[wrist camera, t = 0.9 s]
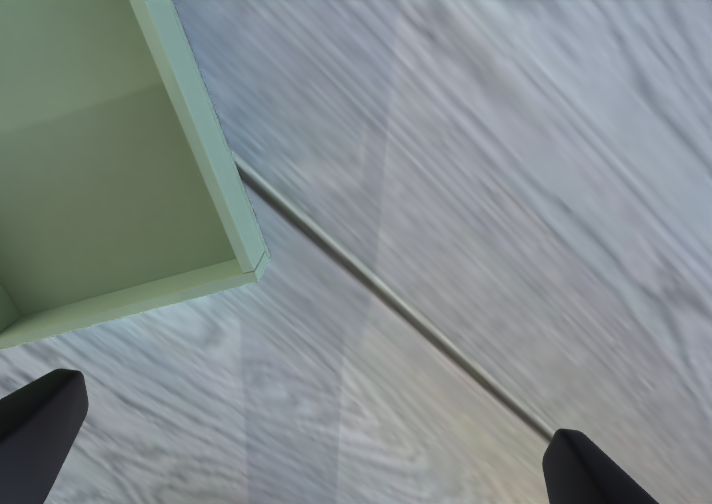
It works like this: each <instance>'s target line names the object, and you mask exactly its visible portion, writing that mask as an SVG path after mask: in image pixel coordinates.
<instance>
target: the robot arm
mask: <svg viewBox="0 0 712 504" xmlns="http://www.w3.org/2000/svg"><path fill="white" fill-rule="evenodd" d="M88 405H89V403H88V396H87V391H86V385H85V380H84V376H83V374H82V373H81V372H80V371H77V370H69V369H56V370H53V371H51V372H50V373H48V374H46V375H44V376H42V377H40V378H39V379H37V380H35V381H33V382H31V383H30V384H28V385H26V386H24V387H22V388H21V389H19V390H17V391H15V392H13V393H11V394H10V395H8V396H6V397H4V398H2V399H1V400H0V504H43V503H44V501H45V499H46V498H47V496H48V494H49V492H50V490H51V488H52V486H53V484H54V482H55V480H56V478H57V475H58V473H59V471H60V469H61V467H62V465H63V463H64V461H65V459H66V457H67V455H68V453H69V450H70V448H71V446H72V444H73V442H74V440H75V438H76V436H77V434H78V432H79V430H80V427H81V425H82V423H83V421H84V419H85V417H86V415H87V411H88ZM542 465H543V472H544V477H545V482H546V487H547V493H548V498H549V503H550V504H659V503H658V502H657V501H656V500H654V499H653V498H652V497H651V496H650V495H649V494H648V493H647V492H646V491H645V490H644V489H643V488H642V487H641V486H639V485H638V484H637V483H636V482H635V481H634V480H633V479H632V478H631V477H630V476H629V475H628V474H627V473H626V472H624V471H623V470H622V469H621V468H620V467H619V466H618V465H617V464H616V463H615V462H614V461H613V460H612V459H610V458H609V457H608V456H607V455H606V454H605V453H604V452H603V451H602V450H601V449H600V448H599V447H598V446H597V445H595V444H594V443H593V442H592V441H591V440H590V439H589V438H588V437H587V436H586V435H585V434H583V433H582V432H580V431H578V430H570V429H558V430H557V431H556V432H555V434H554V436H553V438H552V440H551V442H550V444H549V446H548V448H547V450H546V452H545V454H544V456H543V463H542Z"/></svg>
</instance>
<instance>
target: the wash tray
mask: <svg viewBox="0 0 712 504" xmlns="http://www.w3.org/2000/svg"><path fill="white" fill-rule="evenodd" d="M270 258H271V256H270V253H269V251H268V248H267V245H266V243H265V240H264V238H263V235H262V232H261V230H260V227H259V225H258V222H257V219H256V217H255V214H254V212H253V209H252V206H251V204H250V201H249V199H248V196H247V193H246V191H245V188H244V186H243V183H242V180H241V178H240V175H239V173H238V170H237V167H236V165H235V162H234V160H233V157H232V154H231V152H230V149H229V147H228V144H227V141H226V139H225V136H224V134H223V131H222V128H221V126H220V123H219V121H218V118H217V115H216V113H215V110H214V108H213V105H212V102H211V100H210V97H209V95H208V92H207V89H206V87H205V84H204V82H203V79H202V76H201V74H200V71H199V69H198V66H197V63H196V61H195V58H194V56H193V53H192V50H191V48H190V45H189V43H188V40H187V37H186V35H185V32H184V30H183V27H182V24H181V22H180V19H179V17H178V14H177V11H176V9H175V6H174V4H173V1H172V0H0V350H4V349H7V348H11V347H15V346H19V345H22V344H26V343H30V342H34V341H38V340H41V339H45V338H49V337H53V336H57V335H60V334H64V333H68V332H72V331H75V330H79V329H83V328H87V327H91V326H94V325H98V324H102V323H106V322H109V321H113V320H117V319H121V318H125V317H128V316H132V315H136V314H140V313H144V312H147V311H151V310H155V309H159V308H162V307H166V306H170V305H174V304H178V303H181V302H185V301H189V300H193V299H197V298H200V297H204V296H208V295H212V294H215V293H219V292H223V291H227V290H231V289H234V288H238V287H242V286H246V285H249V284H253V283H257V282H259V281H260V279H261V277H262V274H263V272H264V270H265V268H266V266H267V264H268V262H269V260H270Z"/></svg>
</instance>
